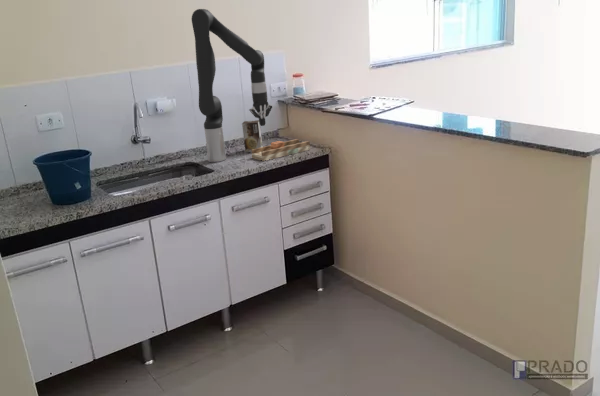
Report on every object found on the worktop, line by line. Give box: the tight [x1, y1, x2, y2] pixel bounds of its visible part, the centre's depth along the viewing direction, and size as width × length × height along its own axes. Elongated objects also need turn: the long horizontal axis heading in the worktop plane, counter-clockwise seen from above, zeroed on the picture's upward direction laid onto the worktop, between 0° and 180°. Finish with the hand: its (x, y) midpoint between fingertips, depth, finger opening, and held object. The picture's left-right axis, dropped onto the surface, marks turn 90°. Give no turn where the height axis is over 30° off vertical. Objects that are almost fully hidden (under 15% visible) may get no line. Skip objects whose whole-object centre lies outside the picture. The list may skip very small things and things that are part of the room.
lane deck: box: [251, 138, 311, 162], centre depth 291 cm, size 30×11×4 cm, turn 127°
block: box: [270, 140, 285, 149], centre depth 289 cm, size 5×5×4 cm
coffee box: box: [241, 119, 264, 153], centre depth 302 cm, size 9×6×16 cm
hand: (262, 125), depth 281 cm, fingers closed
